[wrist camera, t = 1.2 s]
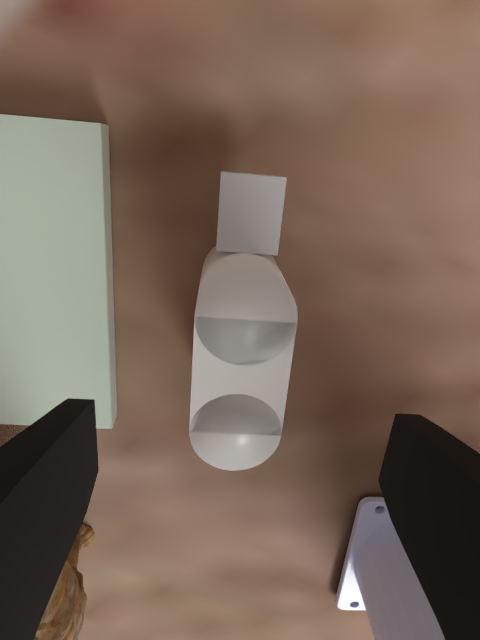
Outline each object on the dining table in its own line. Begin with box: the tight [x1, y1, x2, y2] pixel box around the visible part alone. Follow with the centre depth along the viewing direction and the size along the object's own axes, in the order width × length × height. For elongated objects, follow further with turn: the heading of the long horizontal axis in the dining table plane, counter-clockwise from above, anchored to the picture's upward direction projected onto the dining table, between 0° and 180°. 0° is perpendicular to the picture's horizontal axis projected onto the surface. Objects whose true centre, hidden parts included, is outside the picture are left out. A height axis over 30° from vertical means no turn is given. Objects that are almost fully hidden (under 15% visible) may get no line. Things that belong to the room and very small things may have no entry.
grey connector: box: [189, 171, 298, 471], centre depth 15 cm, size 3×9×5 cm, turn 175°
